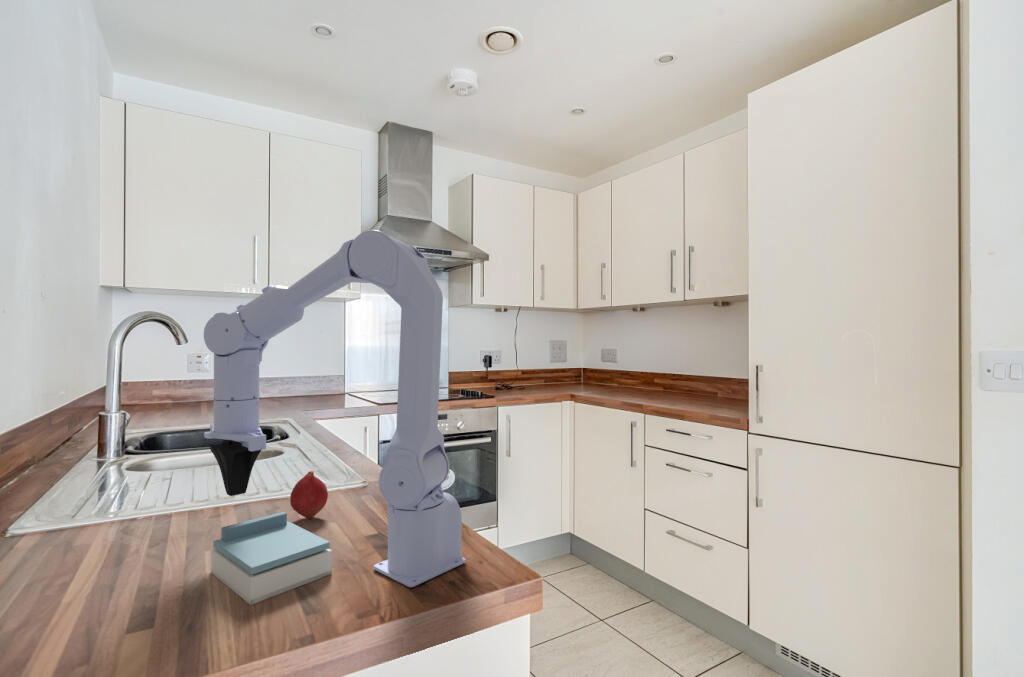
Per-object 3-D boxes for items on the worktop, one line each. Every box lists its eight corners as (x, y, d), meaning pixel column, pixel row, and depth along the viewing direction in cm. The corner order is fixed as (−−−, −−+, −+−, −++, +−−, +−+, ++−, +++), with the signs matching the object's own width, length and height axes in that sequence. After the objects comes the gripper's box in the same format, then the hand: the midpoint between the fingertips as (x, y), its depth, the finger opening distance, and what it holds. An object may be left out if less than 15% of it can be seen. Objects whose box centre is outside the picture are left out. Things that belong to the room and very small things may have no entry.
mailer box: (287, 548, 73) (287, 527, 73) (331, 573, 65) (331, 550, 65) (211, 572, 65) (211, 549, 65) (250, 604, 57) (250, 578, 57)
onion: (287, 526, 81) (287, 476, 81) (293, 514, 87) (293, 467, 87) (326, 523, 83) (326, 474, 83) (329, 511, 88) (329, 465, 88)
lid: (286, 526, 72) (287, 509, 72) (329, 548, 65) (329, 529, 65) (213, 547, 65) (213, 528, 65) (251, 574, 58) (251, 553, 58)
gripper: (187, 396, 74) (186, 489, 74) (226, 406, 64) (226, 512, 64) (238, 392, 79) (238, 479, 79) (281, 401, 70) (281, 499, 70)
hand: (236, 493), depth 72 cm, fingers closed
